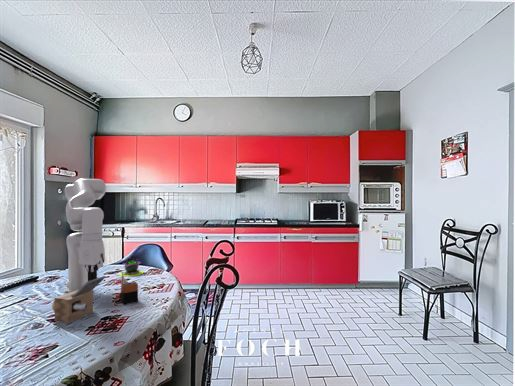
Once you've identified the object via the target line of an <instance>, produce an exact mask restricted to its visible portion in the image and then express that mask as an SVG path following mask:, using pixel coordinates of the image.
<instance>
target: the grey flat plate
mask: <svg viewBox="0 0 515 386" xmlns="http://www.w3.org/2000/svg"><path fill="white" fill-rule="evenodd" d="M105 278H106V276H105V275H103V276H100V277H97V279H94V280H91V281H88V282H86V283H85V284H84V285H83V286H82V287H81V288H80V289H79V290H78V291H77V292H76V293H75V294H73V295H71V297H72V298H74V297H77V296H80V295H83V294H85V293H88V292H91V291H94V289H95V288H96V287H97V286H98V285H100V283H101V282H103V280H104V279H105Z"/></svg>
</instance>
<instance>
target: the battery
mask: <svg viewBox="0 0 515 386" xmlns="http://www.w3.org/2000/svg"><path fill="white" fill-rule="evenodd" d="M138 302H139V284H138V283H137V282H136V281H135V280H132V281H131V282H129V281H124V284H122V298H121V304H123V305H129V304H135V303H138Z"/></svg>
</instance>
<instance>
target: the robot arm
mask: <svg viewBox="0 0 515 386" xmlns="http://www.w3.org/2000/svg"><path fill="white" fill-rule="evenodd" d="M106 192H107V187H106V183H105V181H104V180H103V179H100V178H79V179H77V180H75V181H74V182H73V183H72V184H71V183H69V184H67V185H66V186H65V187H64V196H65V198H66V201H67V203H66V205H65V216H66V221H67V223H68V224H69V227H70V230H72V231H76V232H73V233H70V234H69V235H67V237H66V242H65V243H66V248H67V256H68V258H67V259H68V260H67V262H68V263H67V265H68V276H67V277H68V278H67V281H66V282H64V285H65V286H67V287H66V288H64V291H65V293H66V294H67V293H70V292H73V291H76V290H79V289H80V288H81V287H82V286H83V285H84V284H85V283H86V282H88V281H91V280H94V279H97V278H98V271H99V269H100V268H103V267H104V263H105V261H106V260H105V258H106V256H105V255H106V254H105V253H106V252H105V244H104V240H103V220H104V217H105V214H104V210H102V208H100V207H95V206H94V207H90V206H92V205H93V204H95V202H96V200H101V199H102V198H103V197H104V196H105V194H106ZM79 231H80V232H79Z"/></svg>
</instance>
